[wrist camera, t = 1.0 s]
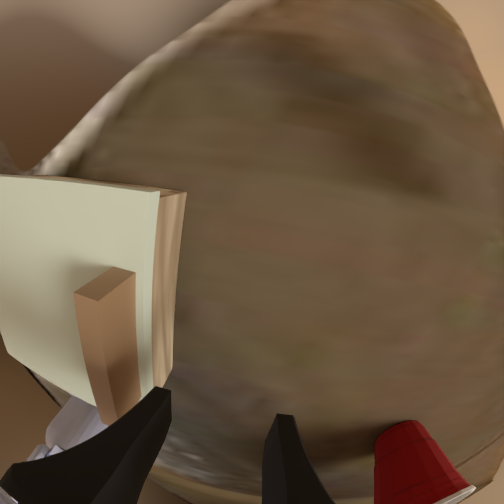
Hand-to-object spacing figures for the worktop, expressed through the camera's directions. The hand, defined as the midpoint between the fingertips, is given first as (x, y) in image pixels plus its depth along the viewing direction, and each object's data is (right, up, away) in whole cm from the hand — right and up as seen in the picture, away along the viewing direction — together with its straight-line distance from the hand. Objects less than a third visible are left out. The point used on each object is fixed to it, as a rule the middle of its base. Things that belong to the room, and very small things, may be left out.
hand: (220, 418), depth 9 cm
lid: (-11, +4, +4) cm, 13 cm away
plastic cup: (+17, -14, +12) cm, 25 cm away
